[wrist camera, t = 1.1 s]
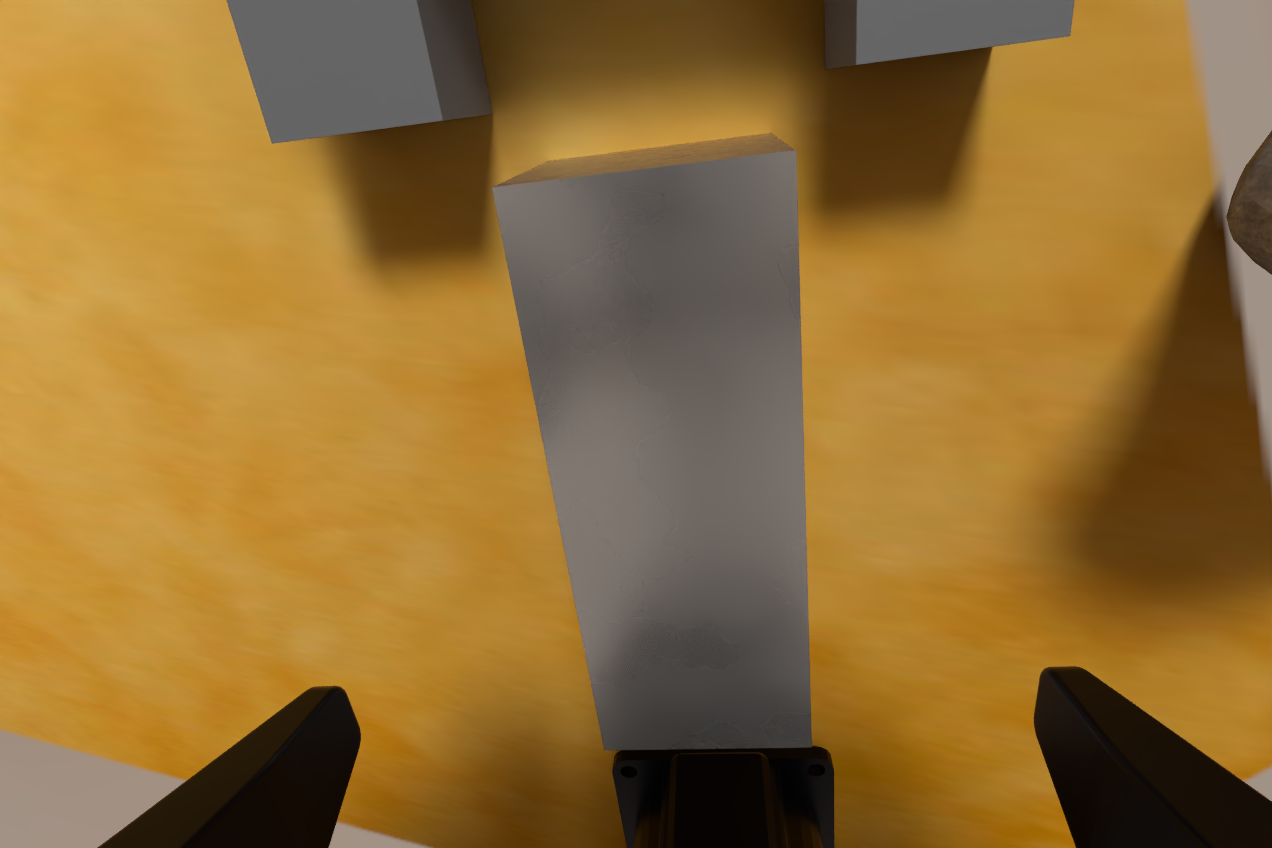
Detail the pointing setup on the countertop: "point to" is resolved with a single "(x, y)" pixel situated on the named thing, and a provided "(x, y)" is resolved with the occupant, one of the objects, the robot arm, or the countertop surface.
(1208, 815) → the robot arm
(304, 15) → the grey u-shaped block
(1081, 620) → the countertop surface
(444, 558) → the countertop surface
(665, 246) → the long gray post
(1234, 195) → the grey tapered cup
